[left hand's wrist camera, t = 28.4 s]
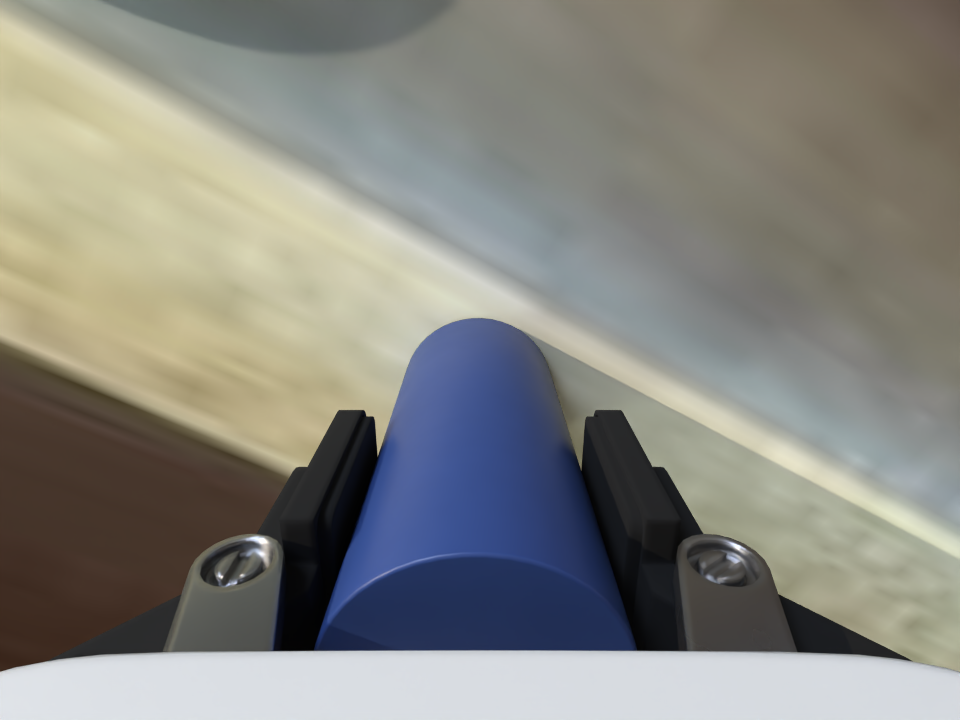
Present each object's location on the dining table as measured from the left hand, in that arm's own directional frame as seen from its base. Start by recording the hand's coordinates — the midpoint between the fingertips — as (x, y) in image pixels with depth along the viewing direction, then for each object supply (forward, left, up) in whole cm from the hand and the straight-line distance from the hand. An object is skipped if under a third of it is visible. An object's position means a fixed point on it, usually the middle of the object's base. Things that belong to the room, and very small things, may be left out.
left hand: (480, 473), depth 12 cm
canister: (0, 0, -5) cm, 5 cm away
